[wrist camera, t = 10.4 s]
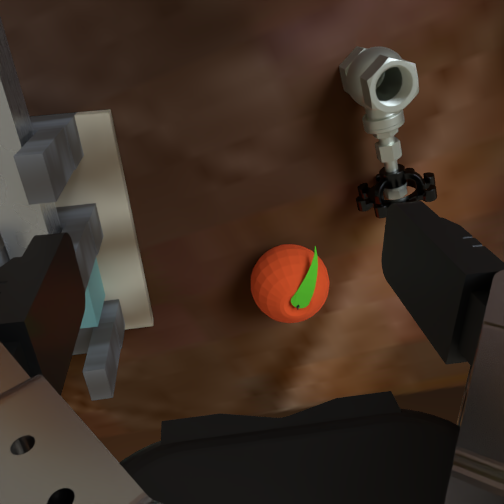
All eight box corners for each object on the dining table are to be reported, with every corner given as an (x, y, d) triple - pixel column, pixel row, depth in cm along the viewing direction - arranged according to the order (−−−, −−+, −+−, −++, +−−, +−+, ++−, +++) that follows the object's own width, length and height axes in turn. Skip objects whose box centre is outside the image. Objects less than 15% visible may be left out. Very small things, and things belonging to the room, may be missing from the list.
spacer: (20, 293, 36) (34, 333, 38) (87, 285, 37) (98, 326, 39) (35, 263, 40) (48, 301, 42) (96, 256, 41) (105, 295, 43)
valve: (314, 58, 36) (346, 195, 42) (340, 72, 30) (372, 228, 36) (397, 28, 36) (417, 170, 42) (438, 36, 30) (454, 199, 36)
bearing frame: (-56, 124, 35) (-150, 180, 25) (110, 109, 36) (84, 157, 26) (25, 335, 45) (-19, 436, 35) (153, 319, 46) (146, 412, 36)
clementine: (267, 210, 42) (283, 249, 36) (335, 233, 44) (361, 273, 38) (234, 283, 45) (243, 330, 39) (299, 301, 47) (317, 348, 41)
